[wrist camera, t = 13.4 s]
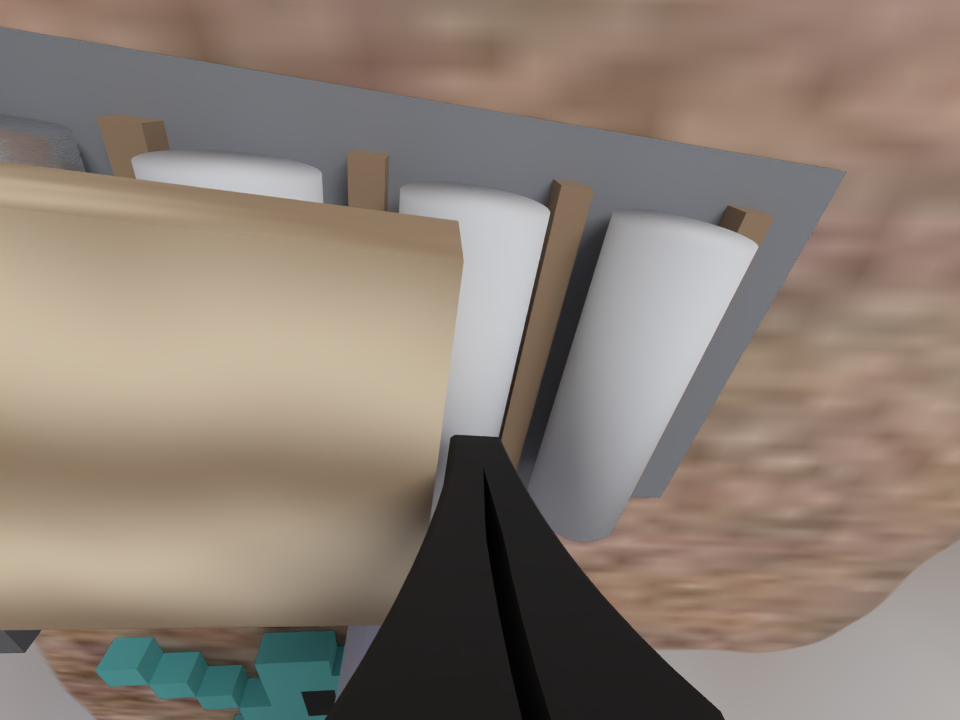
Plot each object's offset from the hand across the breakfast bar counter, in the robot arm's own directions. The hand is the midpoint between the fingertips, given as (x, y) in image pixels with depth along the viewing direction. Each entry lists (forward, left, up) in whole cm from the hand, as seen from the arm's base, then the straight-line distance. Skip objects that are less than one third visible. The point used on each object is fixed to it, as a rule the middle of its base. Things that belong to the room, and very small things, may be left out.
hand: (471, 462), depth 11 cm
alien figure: (-33, +9, -7) cm, 35 cm away
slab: (0, +7, -1) cm, 7 cm away
